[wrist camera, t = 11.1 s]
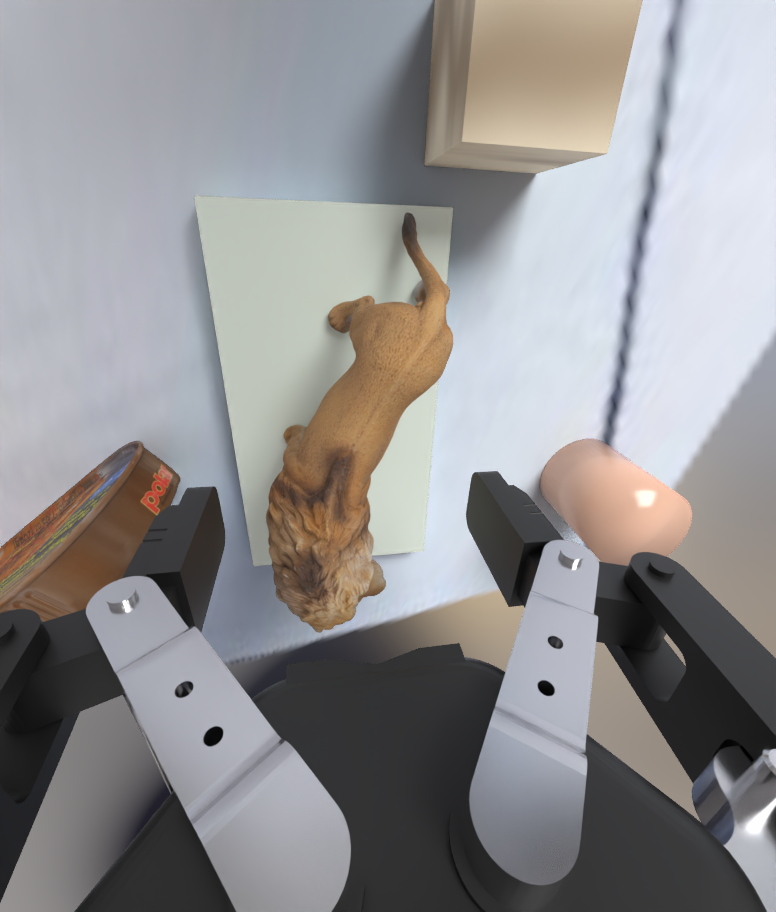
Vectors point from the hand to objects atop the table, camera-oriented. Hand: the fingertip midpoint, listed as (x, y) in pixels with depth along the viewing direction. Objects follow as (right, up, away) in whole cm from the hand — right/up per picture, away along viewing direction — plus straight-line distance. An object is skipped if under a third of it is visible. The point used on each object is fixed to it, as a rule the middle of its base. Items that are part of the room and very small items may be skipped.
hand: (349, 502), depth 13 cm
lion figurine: (0, +5, +7) cm, 8 cm away
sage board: (-1, +4, +8) cm, 9 cm away
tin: (-15, -2, +9) cm, 18 cm away
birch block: (+5, +16, +3) cm, 17 cm away
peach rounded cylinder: (+13, 0, +13) cm, 18 cm away
